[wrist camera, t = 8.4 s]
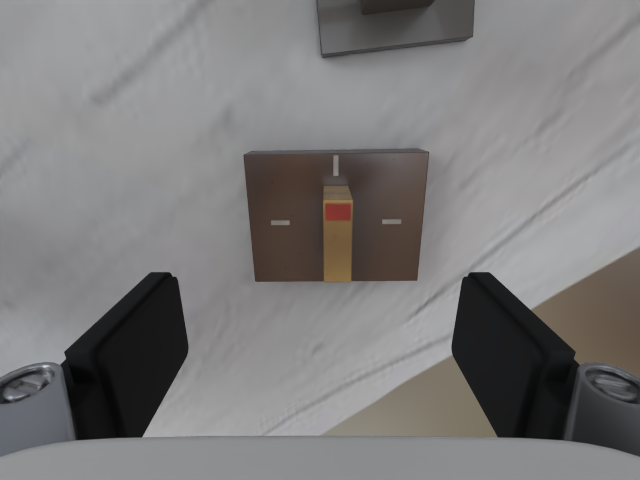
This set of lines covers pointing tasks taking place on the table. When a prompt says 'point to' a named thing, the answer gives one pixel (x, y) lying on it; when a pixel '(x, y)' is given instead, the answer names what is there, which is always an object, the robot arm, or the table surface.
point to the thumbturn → (337, 233)
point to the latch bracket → (391, 24)
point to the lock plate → (307, 211)
